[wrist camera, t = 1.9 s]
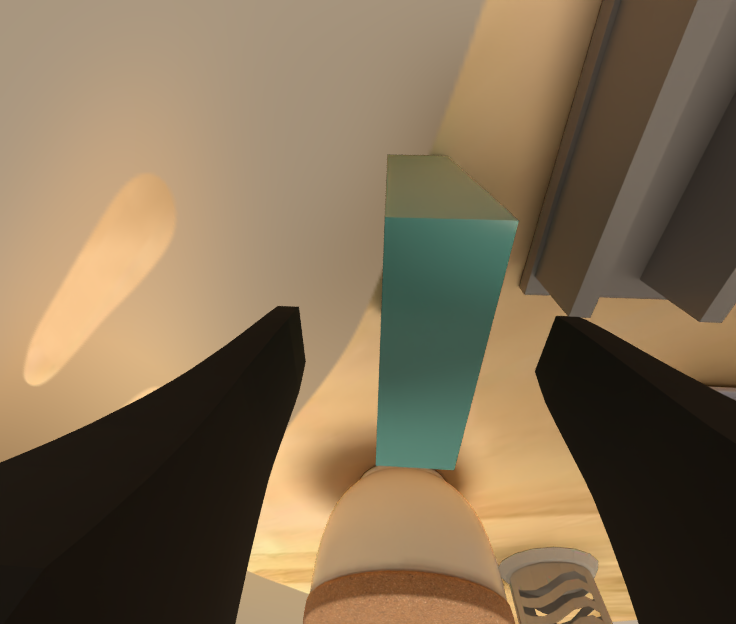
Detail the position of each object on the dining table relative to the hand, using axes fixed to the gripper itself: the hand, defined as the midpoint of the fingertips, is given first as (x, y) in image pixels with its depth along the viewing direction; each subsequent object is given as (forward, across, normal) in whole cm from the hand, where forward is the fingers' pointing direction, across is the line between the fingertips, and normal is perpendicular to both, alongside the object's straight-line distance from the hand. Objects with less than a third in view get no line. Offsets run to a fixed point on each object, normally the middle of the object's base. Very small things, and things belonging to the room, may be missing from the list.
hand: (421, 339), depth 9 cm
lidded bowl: (+8, -1, +21) cm, 22 cm away
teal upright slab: (+8, 0, 0) cm, 8 cm away
